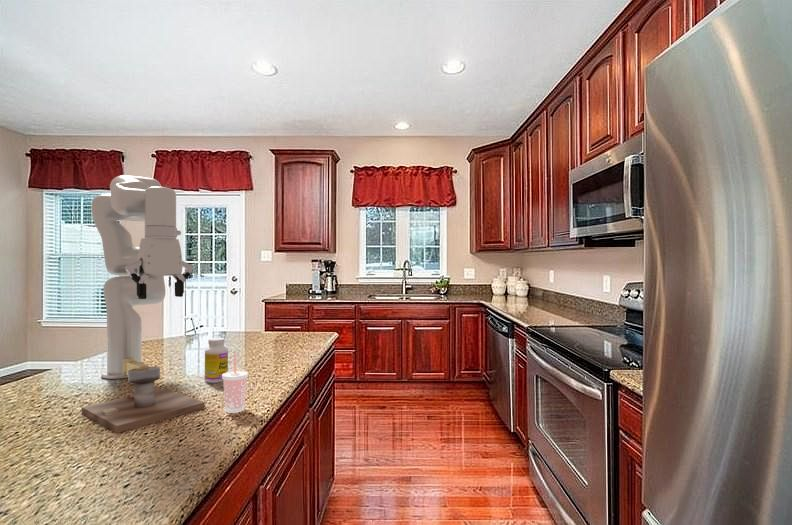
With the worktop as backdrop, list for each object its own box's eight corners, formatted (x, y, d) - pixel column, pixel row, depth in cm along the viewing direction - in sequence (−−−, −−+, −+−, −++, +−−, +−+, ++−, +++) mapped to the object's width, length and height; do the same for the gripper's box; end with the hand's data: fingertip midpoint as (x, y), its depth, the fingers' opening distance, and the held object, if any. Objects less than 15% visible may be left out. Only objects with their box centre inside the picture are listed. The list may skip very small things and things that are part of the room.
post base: (81, 413, 108) (81, 384, 108) (165, 393, 124) (165, 368, 124) (116, 432, 96) (116, 400, 96) (204, 408, 112) (204, 380, 112)
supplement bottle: (219, 384, 133) (219, 341, 133) (199, 382, 135) (200, 340, 134) (232, 378, 140) (232, 337, 140) (213, 377, 141) (213, 336, 141)
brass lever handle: (112, 376, 113) (112, 360, 113) (140, 371, 118) (140, 356, 118) (135, 385, 105) (135, 368, 105) (165, 379, 110) (165, 363, 110)
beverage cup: (232, 415, 107) (232, 357, 106) (216, 411, 110) (216, 354, 110) (253, 408, 112) (253, 352, 112) (237, 404, 115) (237, 350, 115)
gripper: (184, 236, 128) (185, 295, 128) (119, 232, 115) (119, 299, 114) (198, 234, 124) (199, 296, 124) (132, 231, 110) (133, 300, 110)
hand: (161, 297), depth 119 cm, fingers open, 9 cm apart
